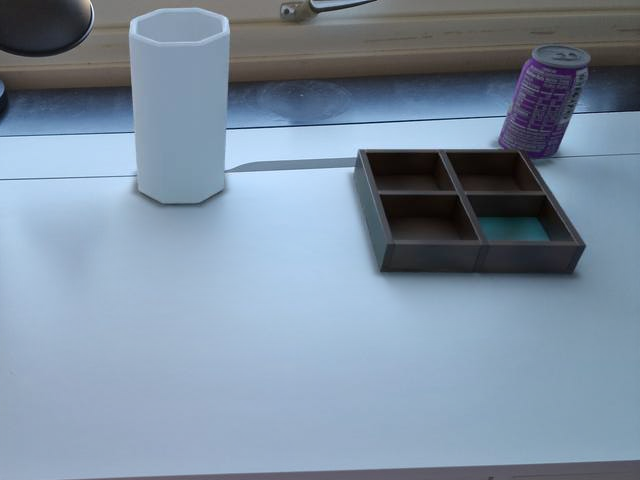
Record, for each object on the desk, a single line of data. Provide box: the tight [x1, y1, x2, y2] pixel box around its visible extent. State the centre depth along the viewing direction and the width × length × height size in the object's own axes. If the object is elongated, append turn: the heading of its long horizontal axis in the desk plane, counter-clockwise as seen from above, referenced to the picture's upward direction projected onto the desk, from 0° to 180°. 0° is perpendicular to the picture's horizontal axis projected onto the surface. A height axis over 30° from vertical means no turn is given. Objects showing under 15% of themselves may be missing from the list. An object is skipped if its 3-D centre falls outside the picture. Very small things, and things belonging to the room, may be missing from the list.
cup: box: [128, 7, 231, 205], centre depth 79 cm, size 11×11×18 cm
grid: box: [353, 148, 587, 275], centre depth 77 cm, size 19×19×4 cm
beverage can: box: [497, 43, 591, 160], centre depth 84 cm, size 7×7×12 cm
